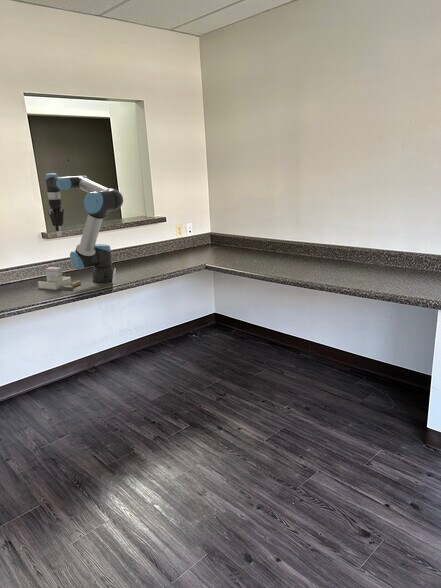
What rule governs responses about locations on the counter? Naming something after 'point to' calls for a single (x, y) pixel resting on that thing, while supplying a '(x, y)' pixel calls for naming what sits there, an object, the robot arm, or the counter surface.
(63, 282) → the frame
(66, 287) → the scraper
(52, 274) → the ink box
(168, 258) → the counter surface
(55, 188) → the robot arm
